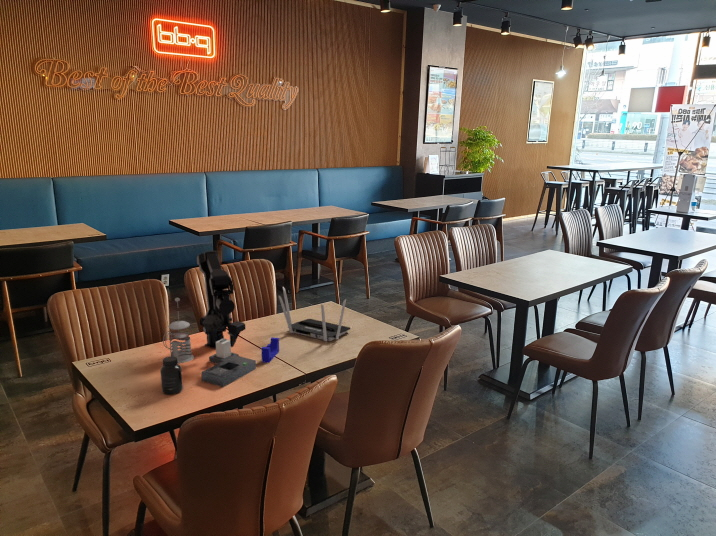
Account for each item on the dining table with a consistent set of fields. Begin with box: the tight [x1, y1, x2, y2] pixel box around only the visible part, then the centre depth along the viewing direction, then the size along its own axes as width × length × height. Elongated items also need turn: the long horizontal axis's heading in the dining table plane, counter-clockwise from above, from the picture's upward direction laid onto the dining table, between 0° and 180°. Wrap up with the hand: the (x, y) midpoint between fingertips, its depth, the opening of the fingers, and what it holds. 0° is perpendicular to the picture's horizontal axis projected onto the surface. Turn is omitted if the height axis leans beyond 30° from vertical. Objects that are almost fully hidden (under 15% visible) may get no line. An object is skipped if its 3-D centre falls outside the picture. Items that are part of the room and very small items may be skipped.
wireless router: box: [278, 286, 351, 342], centre depth 245 cm, size 34×23×20 cm
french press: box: [162, 297, 195, 364], centre depth 216 cm, size 10×12×25 cm
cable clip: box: [261, 337, 280, 364], centre depth 222 cm, size 12×4×6 cm, turn 169°
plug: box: [215, 338, 232, 359], centre depth 217 cm, size 4×4×9 cm
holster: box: [208, 351, 239, 365], centre depth 218 cm, size 8×8×2 cm
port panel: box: [201, 355, 257, 388], centre depth 205 cm, size 10×18×4 cm, turn 151°
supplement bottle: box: [159, 355, 184, 396], centre depth 191 cm, size 7×7×12 cm
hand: (223, 344), depth 217 cm, fingers open, 9 cm apart
